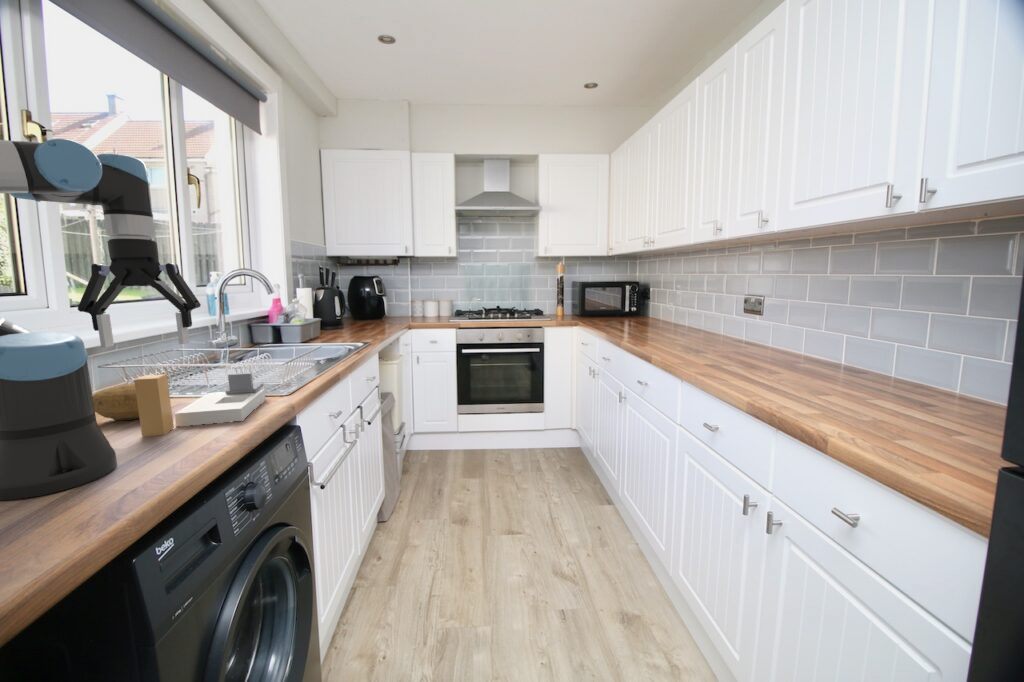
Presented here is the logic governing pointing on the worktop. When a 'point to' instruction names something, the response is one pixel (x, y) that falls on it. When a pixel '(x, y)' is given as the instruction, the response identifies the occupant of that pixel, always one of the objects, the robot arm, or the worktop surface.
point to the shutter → (242, 383)
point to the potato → (117, 403)
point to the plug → (154, 404)
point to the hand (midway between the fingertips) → (146, 345)
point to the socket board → (219, 408)
